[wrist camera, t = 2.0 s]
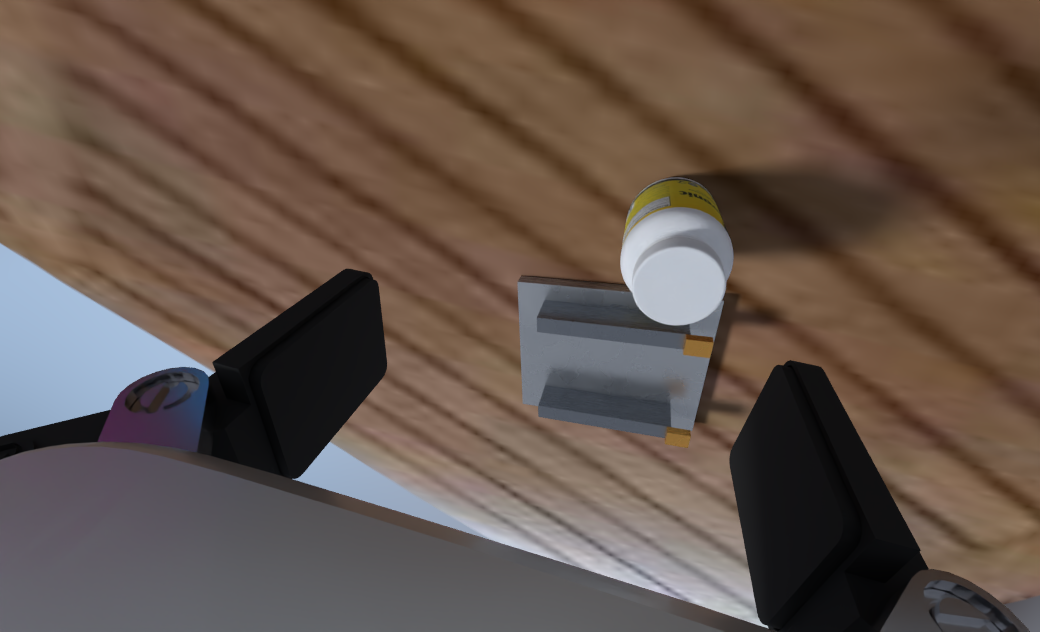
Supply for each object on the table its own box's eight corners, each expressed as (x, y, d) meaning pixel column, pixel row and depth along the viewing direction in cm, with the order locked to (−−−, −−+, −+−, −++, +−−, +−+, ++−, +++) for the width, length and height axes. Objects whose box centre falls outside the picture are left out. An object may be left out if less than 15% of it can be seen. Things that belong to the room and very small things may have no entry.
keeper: (722, 293, 29) (730, 326, 25) (691, 422, 35) (694, 461, 32) (521, 275, 32) (505, 302, 29) (525, 395, 38) (513, 429, 35)
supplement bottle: (734, 227, 26) (768, 306, 18) (656, 271, 29) (656, 357, 21) (687, 155, 25) (702, 206, 17) (610, 209, 28) (591, 274, 20)
